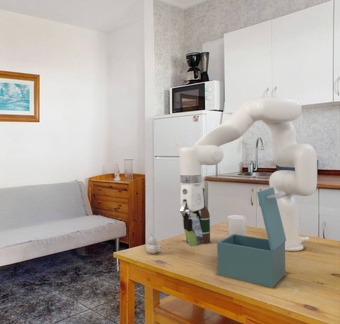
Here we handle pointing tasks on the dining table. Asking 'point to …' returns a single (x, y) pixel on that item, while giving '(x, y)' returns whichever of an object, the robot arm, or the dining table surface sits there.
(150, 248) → the white figurine
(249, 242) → the teal rectangular box
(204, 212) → the beer bottle
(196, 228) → the beverage can
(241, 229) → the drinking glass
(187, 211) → the robot arm
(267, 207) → the teal box lid
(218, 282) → the dining table surface
